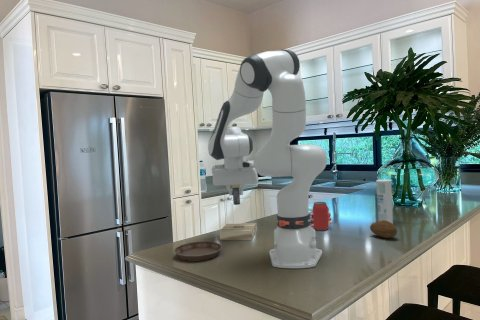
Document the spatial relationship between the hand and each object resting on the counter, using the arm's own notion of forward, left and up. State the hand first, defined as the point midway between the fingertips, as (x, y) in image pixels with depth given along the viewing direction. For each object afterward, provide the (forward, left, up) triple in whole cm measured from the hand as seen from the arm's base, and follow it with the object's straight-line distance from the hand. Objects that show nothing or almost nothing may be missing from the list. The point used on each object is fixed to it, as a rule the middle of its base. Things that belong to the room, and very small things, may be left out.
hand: (236, 195), depth 158 cm
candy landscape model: (+25, -28, -19) cm, 42 cm away
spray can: (+18, -65, -19) cm, 70 cm away
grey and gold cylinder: (0, 0, -4) cm, 4 cm away
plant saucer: (-27, +10, -19) cm, 35 cm away
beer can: (+10, -36, -19) cm, 42 cm away
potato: (-6, -60, -19) cm, 63 cm away
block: (0, 0, -18) cm, 18 cm away
